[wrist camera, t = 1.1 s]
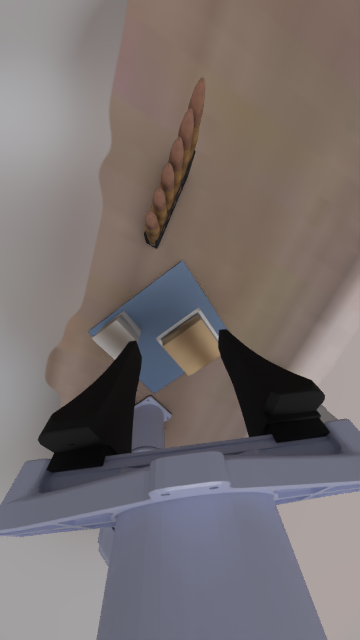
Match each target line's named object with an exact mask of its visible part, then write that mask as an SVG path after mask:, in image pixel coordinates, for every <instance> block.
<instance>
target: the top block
mask: <svg viewBox="0 0 360 640" xmlns="http://www.w3.org/2000/svg"><path fill="white" fill-rule="evenodd" d="M140 334H141V329H140V328H139V327H138V325H137V324H136V323H135V322H134V321H133V320H132V319H131V318H130V317H129V315H128V314H127V313H126V312H125V311H123V312H121V313H120V314H119V315H117V316H116V317H115V318H113V319H112V320H111V321H109V322H108V323H107V324H105V325H104V326H103V327H102V328H101V329H100V330H99V331H98V332H97V333H96V334H95V335H94V337H93V338H92V339H93V340H94V341H95V342H96V343H97V344H98V345H99V346H100V347H101V348H102V349H104V350H105V351H106V352H107V353H108V354H109V355H110V356H111V357H112V358H113V359H114V360H115V359H116V358H117V357H118V356H119V354H120V353H121V352H122V350H123V349H124V348H125V346H126V345H127V344H128V342H129V341H137V343H138V341H139V337H140Z"/></svg>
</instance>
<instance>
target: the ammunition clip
mask: <svg viewBox="0 0 360 640" xmlns="http://www.w3.org/2000/svg"><path fill="white" fill-rule="evenodd" d="M204 99H205V81H204V78H203V77H202V78H201V79H200V80H199V81H198V83H197V85H196V87H195V89H194V91H193V94H192V97H191V100H190V103H189V107H188V111H187V112H186V113H185V115H184V117H183V120H182V123H181V126H180V129H179V134H178V138H177V139H176V140H175V142H174V143H173V146H172V149H171V152H170V157H169V162H168V164H166V166H165V167H164V169H163V172H162V176H161V182H160V187H159V188H158V189H156V191H155V193H154V195H153V205H152V209H151V211H149V212H147V214H146V216H145V232H144V236H145V240H146V243H147V244H149V245H151V246H153V247H155V248H158V246H159V243H160V241H161V239H162V236H163V234H164V232H165V229H166V227H167V224H168V222H169V220H170V217H171V215H172V213H173V210H174V208H175V206H176V203H177V201H178V198H179V196H180V194H181V191H182V189H183V187H184V184H185V182H186V180H187V177H188V174H189V171H190V168H191V165H192V161H193V158H194V155H195V151H194V149H195V146H196V143H197V139H198V132H199V126H200V121H201V117H202V112H203V107H204Z"/></svg>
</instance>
